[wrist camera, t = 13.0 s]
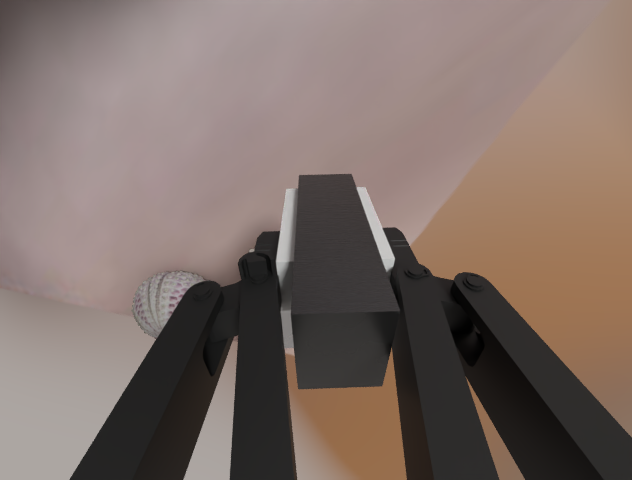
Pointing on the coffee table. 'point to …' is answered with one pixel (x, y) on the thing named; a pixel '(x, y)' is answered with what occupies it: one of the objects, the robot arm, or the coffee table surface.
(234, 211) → the coffee table surface
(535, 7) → the coffee table surface
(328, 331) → the grey l-shaped block
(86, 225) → the coffee table surface
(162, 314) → the sea urchin shell
